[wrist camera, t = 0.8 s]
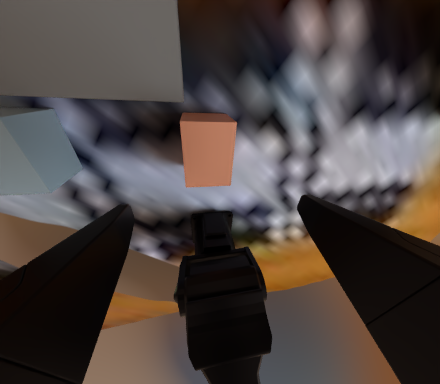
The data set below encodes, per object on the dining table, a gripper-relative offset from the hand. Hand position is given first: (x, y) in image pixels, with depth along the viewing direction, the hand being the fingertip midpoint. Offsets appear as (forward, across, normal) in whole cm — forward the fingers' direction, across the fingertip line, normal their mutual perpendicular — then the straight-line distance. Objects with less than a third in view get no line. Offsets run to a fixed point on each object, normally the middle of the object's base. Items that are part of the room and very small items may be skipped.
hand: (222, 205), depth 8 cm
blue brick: (+12, +16, 0) cm, 20 cm away
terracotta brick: (+12, 0, 0) cm, 12 cm away
